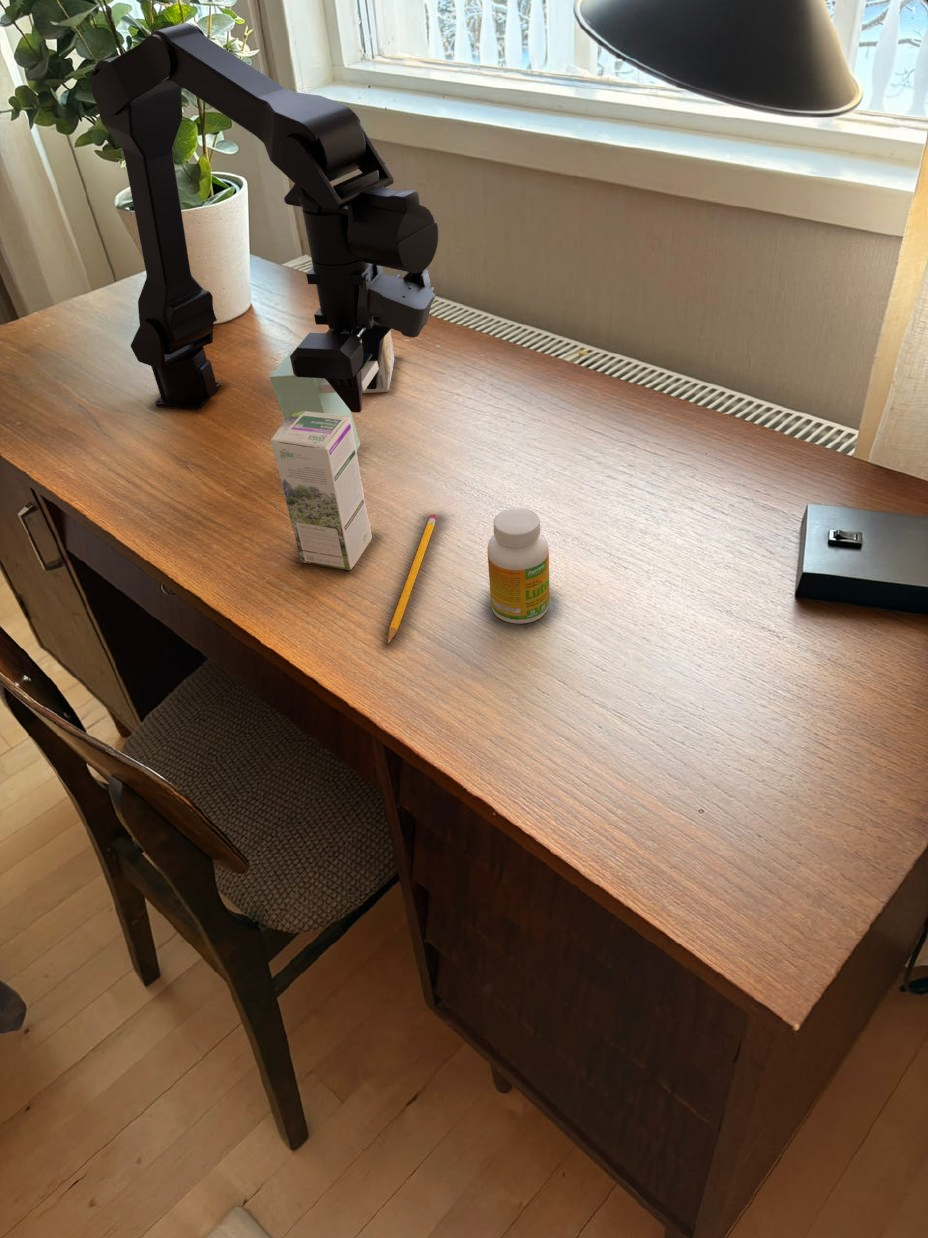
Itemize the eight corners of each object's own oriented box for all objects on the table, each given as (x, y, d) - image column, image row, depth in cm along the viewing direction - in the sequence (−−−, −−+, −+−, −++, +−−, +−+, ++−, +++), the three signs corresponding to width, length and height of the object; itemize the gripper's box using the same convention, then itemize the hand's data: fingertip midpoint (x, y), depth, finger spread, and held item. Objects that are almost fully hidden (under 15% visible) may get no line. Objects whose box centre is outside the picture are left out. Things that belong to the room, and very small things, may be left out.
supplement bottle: (531, 632, 84) (529, 546, 78) (480, 614, 86) (473, 528, 80) (559, 597, 87) (559, 511, 81) (509, 581, 90) (505, 496, 83)
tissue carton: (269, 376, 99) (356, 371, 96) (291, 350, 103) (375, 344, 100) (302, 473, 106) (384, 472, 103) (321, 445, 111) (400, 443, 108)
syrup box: (374, 538, 96) (352, 411, 87) (350, 573, 92) (325, 445, 83) (323, 530, 98) (297, 405, 88) (298, 565, 94) (267, 438, 84)
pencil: (437, 519, 98) (436, 514, 98) (393, 646, 84) (392, 640, 84) (429, 519, 98) (429, 514, 98) (384, 645, 84) (383, 640, 84)
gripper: (389, 296, 83) (410, 450, 93) (446, 221, 96) (458, 363, 106) (273, 292, 85) (305, 443, 95) (344, 220, 99) (366, 359, 109)
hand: (364, 399), depth 101 cm, fingers closed on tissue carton, 5 cm apart
